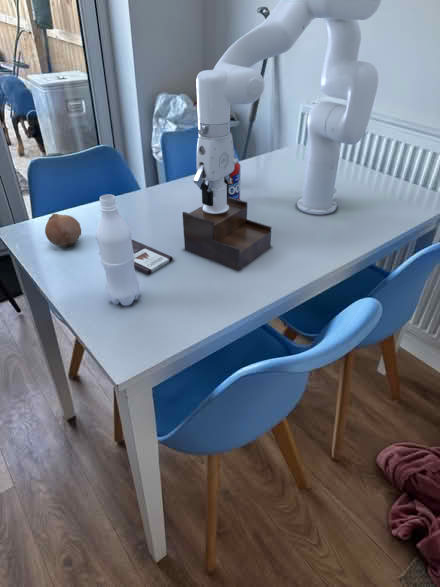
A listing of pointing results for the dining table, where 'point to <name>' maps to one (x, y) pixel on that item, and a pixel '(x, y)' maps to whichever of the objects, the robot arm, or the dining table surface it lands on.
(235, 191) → the soda can
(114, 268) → the water bottle
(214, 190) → the downlight
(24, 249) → the dining table surface
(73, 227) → the brown coconut
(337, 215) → the dining table surface
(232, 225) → the spice shelf
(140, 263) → the chocolate bar
